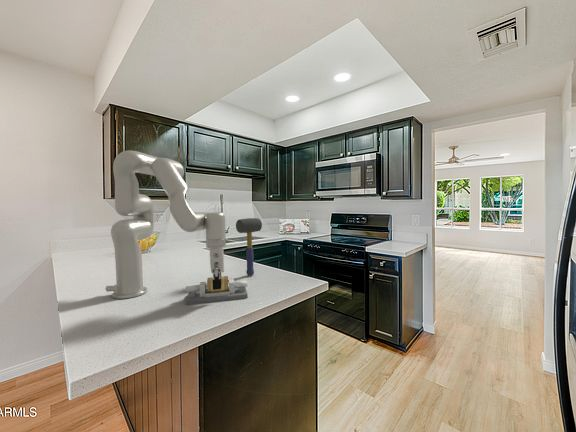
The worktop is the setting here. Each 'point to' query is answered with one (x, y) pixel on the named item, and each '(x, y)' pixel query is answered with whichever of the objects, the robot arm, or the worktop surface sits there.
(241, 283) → the shaft stand
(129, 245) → the robot arm
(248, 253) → the rubber mallet
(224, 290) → the coupler
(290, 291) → the worktop surface
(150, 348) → the worktop surface
